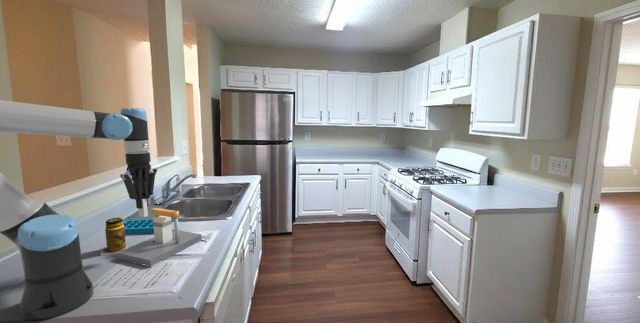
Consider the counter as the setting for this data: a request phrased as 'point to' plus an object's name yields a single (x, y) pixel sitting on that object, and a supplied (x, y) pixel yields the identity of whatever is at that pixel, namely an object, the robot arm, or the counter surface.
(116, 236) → the condiment
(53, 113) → the robot arm
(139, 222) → the ice cube tray
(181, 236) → the grey flat slab
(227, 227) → the counter surface
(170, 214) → the clip
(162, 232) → the white upright block
